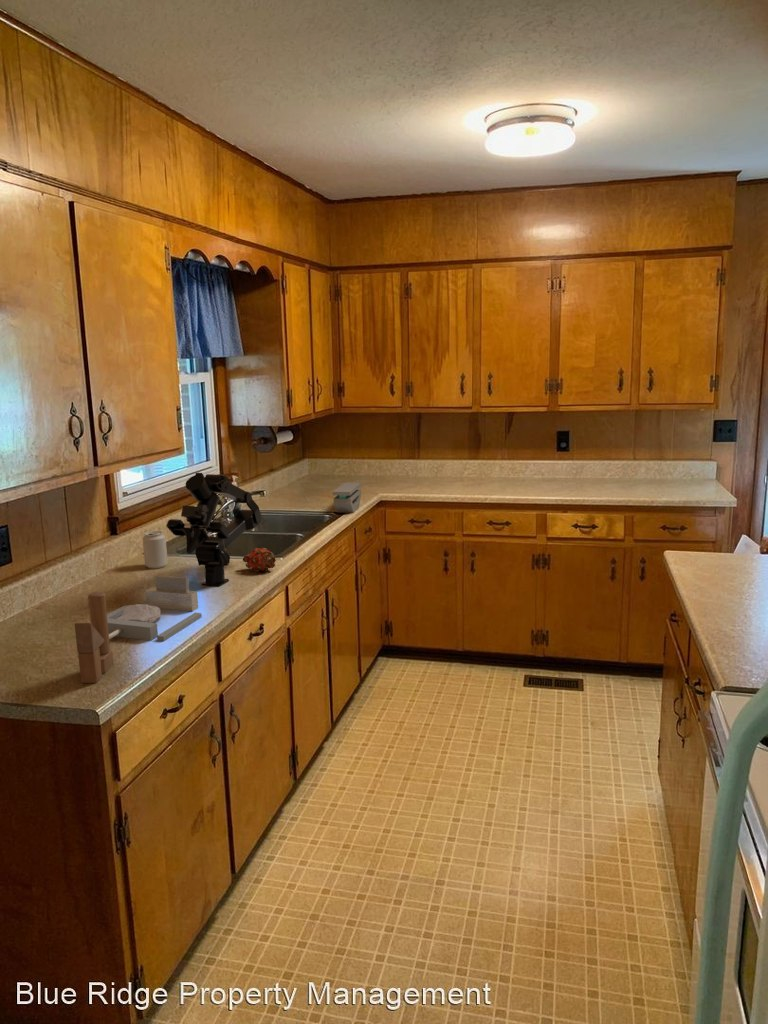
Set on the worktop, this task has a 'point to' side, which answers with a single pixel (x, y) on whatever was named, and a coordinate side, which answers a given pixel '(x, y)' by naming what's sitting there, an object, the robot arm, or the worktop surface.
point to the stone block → (141, 613)
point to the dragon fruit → (260, 560)
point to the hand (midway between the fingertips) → (188, 553)
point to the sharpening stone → (347, 497)
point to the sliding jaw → (172, 594)
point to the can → (155, 549)
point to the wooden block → (94, 641)
